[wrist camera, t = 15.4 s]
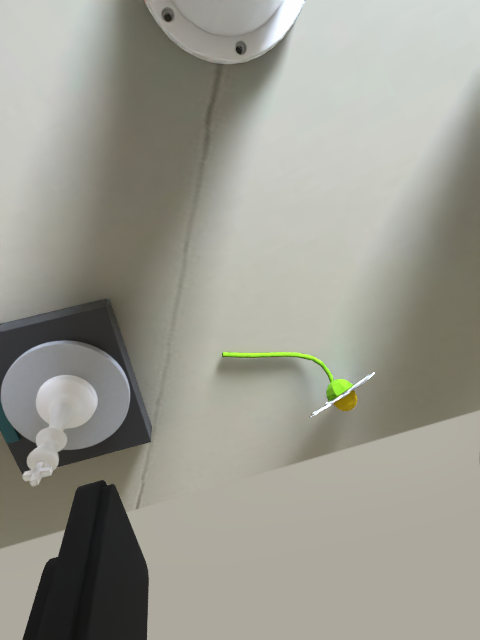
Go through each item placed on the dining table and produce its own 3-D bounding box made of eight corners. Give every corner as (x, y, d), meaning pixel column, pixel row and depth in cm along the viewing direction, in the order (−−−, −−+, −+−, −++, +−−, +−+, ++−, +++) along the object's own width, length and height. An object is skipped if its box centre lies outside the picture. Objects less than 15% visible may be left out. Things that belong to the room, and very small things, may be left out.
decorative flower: (232, 409, 34) (397, 404, 37) (228, 337, 36) (383, 338, 39) (219, 425, 41) (359, 420, 44) (217, 364, 43) (348, 363, 46)
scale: (-31, 330, 35) (-50, 346, 32) (109, 297, 36) (104, 309, 33) (31, 459, 40) (20, 483, 37) (151, 426, 41) (151, 447, 38)
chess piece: (104, 418, 36) (84, 502, 27) (47, 430, 36) (6, 521, 26) (89, 369, 34) (62, 442, 25) (28, 381, 34) (-22, 460, 25)
